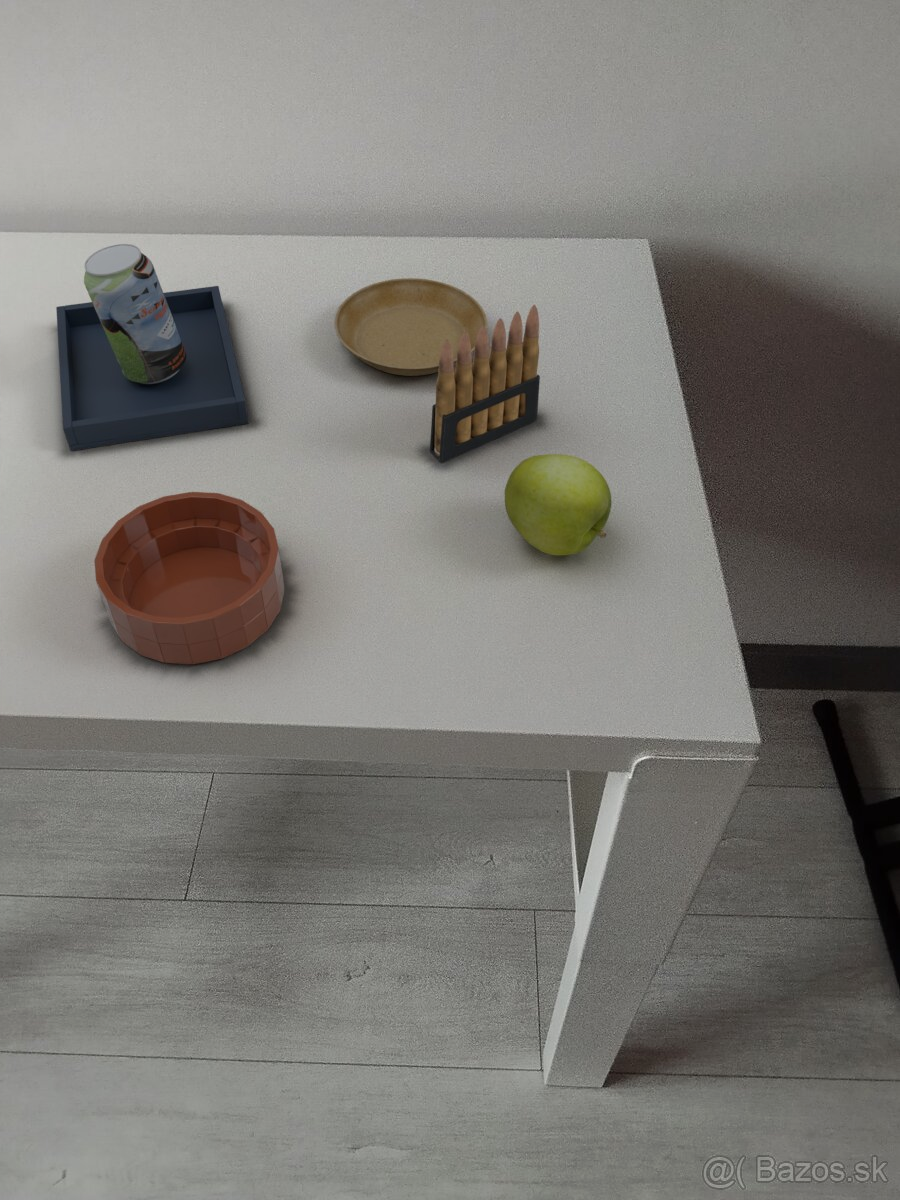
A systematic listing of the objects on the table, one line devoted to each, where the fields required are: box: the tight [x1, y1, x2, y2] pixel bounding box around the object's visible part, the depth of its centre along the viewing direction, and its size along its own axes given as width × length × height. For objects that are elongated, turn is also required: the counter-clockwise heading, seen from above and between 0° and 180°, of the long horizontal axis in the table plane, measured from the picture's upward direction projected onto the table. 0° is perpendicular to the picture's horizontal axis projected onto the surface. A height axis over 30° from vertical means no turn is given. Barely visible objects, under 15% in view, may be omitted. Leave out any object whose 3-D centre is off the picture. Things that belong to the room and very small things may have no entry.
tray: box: [55, 285, 249, 452], centre depth 97 cm, size 16×19×3 cm
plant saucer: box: [333, 277, 488, 377], centre depth 101 cm, size 15×15×3 cm
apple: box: [504, 453, 612, 556], centre depth 82 cm, size 8×9×8 cm
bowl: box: [93, 491, 286, 665], centre depth 78 cm, size 13×13×5 cm
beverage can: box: [83, 243, 186, 384], centre depth 93 cm, size 6×7×12 cm
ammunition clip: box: [429, 304, 541, 464], centre depth 89 cm, size 11×2×12 cm, turn 125°
